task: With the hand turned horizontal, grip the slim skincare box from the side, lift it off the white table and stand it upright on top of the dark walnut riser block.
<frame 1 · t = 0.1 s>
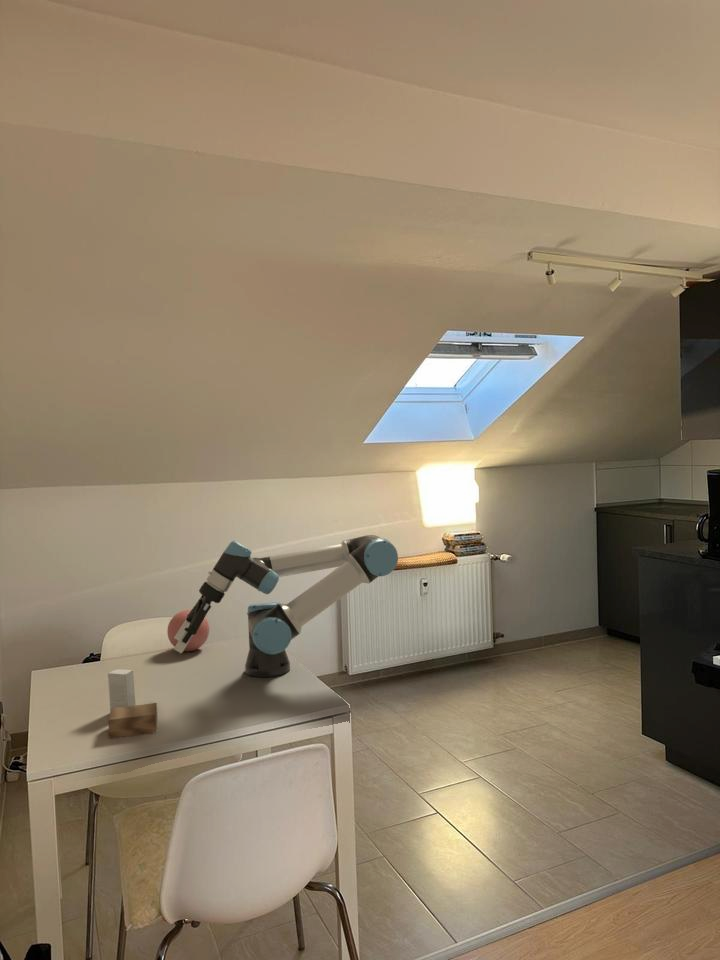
hand: (177, 645, 225), 15 cm above the table, tool tilted 35°, fingers open, 13 cm apart
skincare box: (123, 712, 211), on the table
walnut riser: (134, 729, 198), on the table
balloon: (190, 649, 276), on the table
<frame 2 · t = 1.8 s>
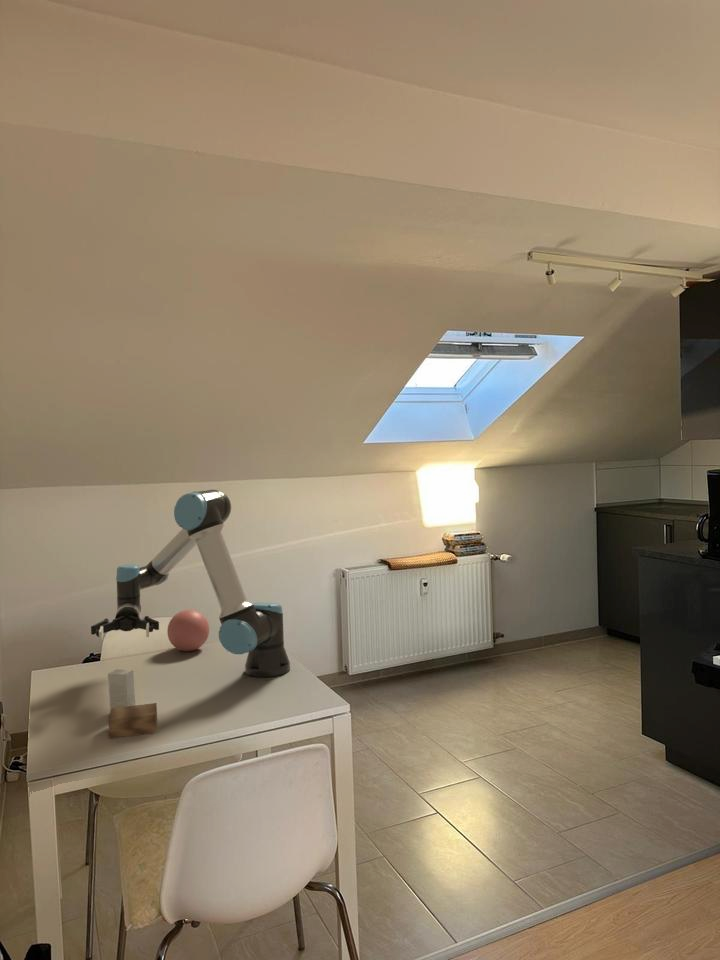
hand: (124, 634, 219), 21 cm above the table, tool horizontal, fingers open, 13 cm apart
nothing on the table moved.
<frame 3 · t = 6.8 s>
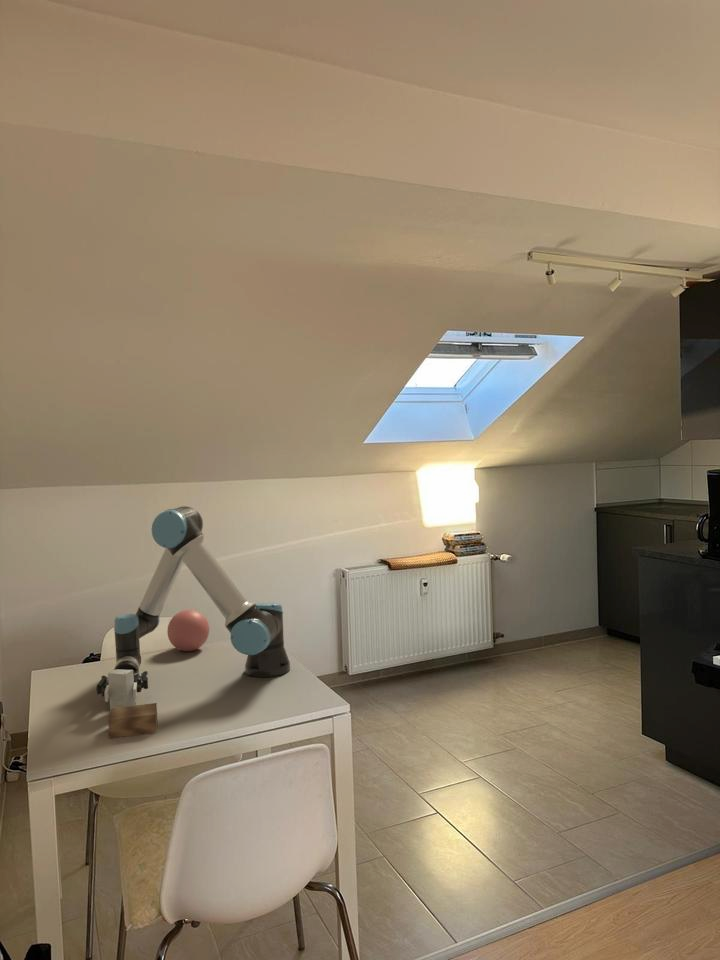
hand: (120, 695, 206), 7 cm above the table, tool horizontal, fingers closed on skincare box, 7 cm apart
skincare box: (123, 712, 211), on the table, touching gripper
everything else where it was.
when the fingers open (13 cm above the table, at t = 12.8 s): skincare box drops 1 cm, resting on walnut riser.
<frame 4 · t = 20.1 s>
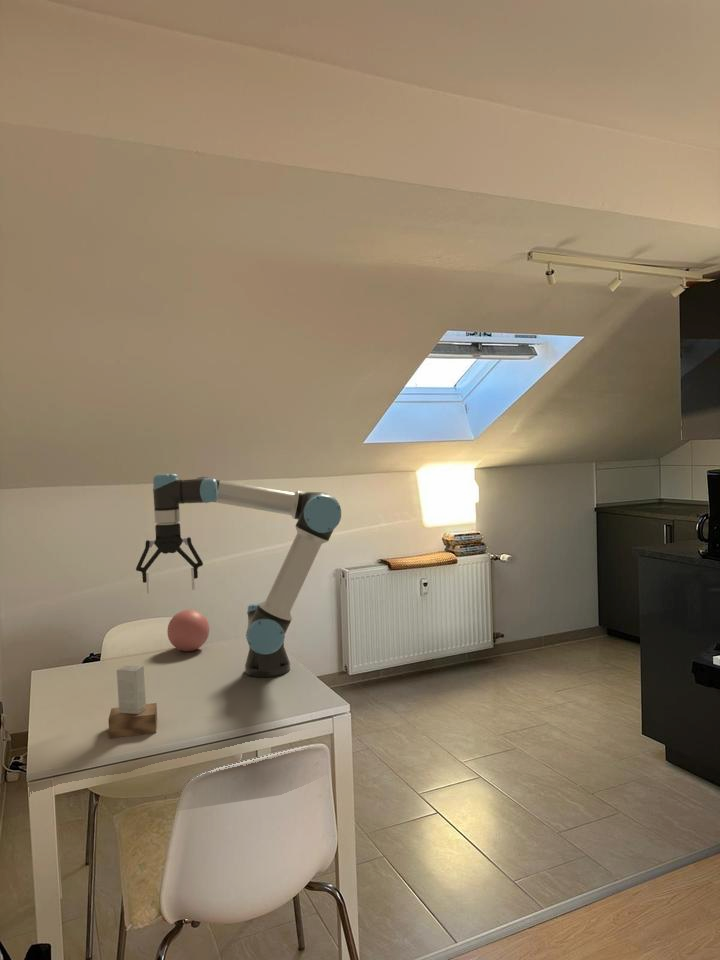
hand: (171, 590, 227), 32 cm above the table, tool pointing down, fingers open, 13 cm apart
skincare box: (132, 711, 198), point 5 cm above the table, touching walnut riser
everything else where it was.
at the end: skincare box inside the target area on the walnut riser (0.1 cm from its centre), point 4.8 cm above the walnut riser's base; skincare box tilted 0°; the gripper is holding nothing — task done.
